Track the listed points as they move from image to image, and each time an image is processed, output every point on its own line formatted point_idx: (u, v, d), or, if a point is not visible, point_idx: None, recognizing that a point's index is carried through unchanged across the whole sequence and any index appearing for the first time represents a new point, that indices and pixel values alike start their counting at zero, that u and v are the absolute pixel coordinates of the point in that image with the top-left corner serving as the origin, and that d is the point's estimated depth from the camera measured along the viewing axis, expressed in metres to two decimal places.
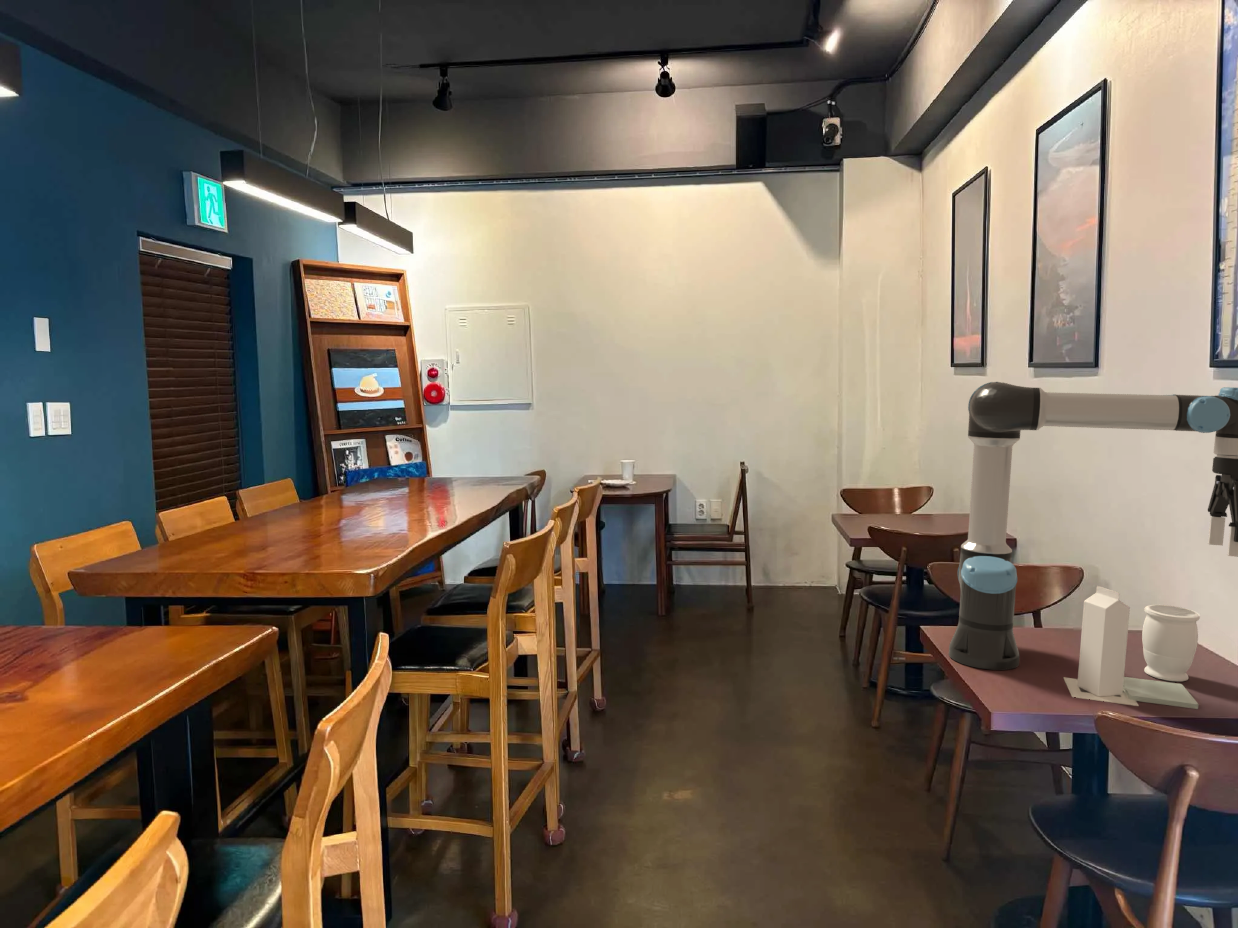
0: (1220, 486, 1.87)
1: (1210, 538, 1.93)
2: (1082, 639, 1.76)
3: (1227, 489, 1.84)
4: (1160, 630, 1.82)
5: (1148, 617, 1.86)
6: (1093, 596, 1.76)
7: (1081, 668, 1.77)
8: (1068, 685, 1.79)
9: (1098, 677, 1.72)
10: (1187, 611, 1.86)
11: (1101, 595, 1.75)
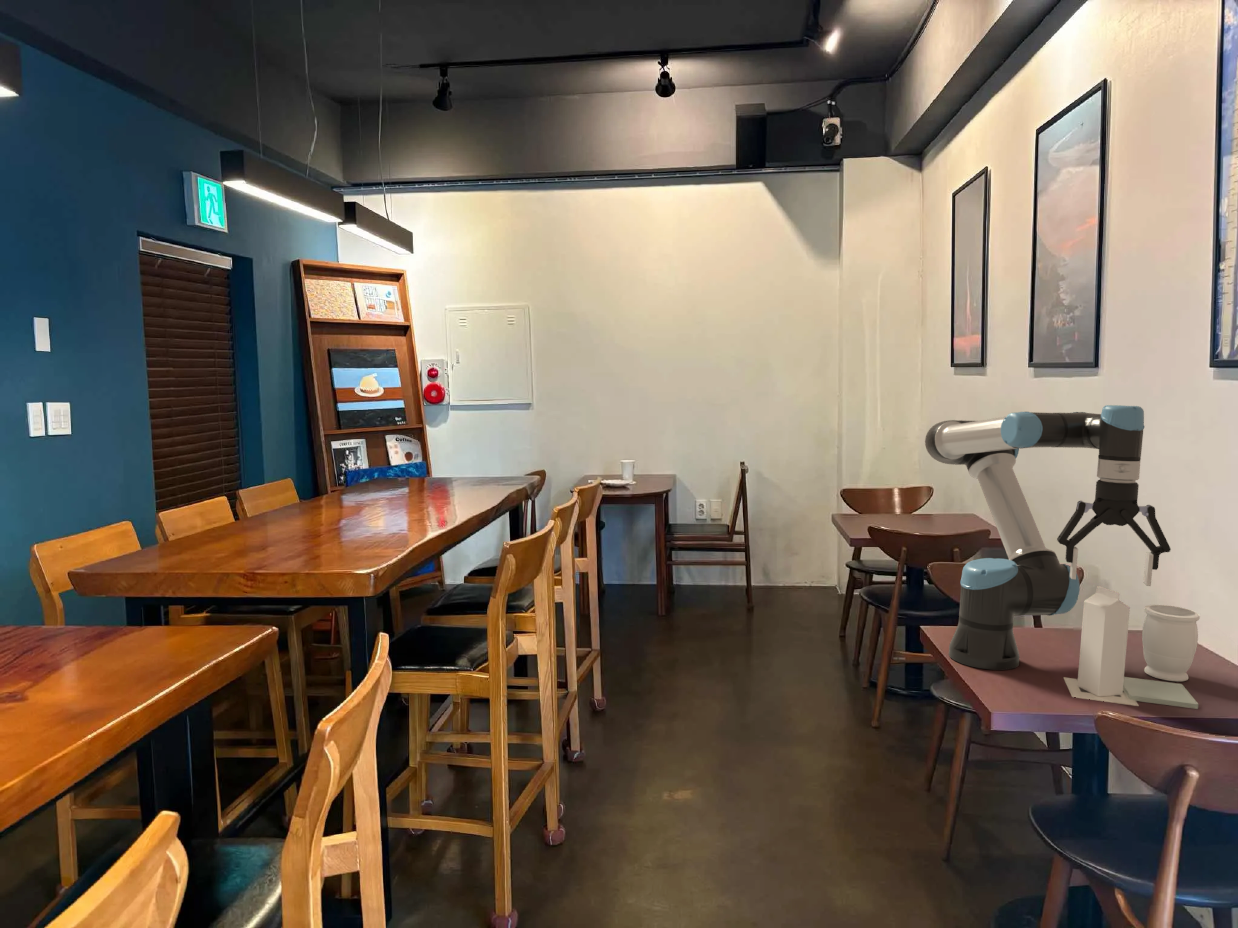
0: None
1: (1144, 576, 1.72)
2: (1082, 639, 1.76)
3: None
4: (1160, 630, 1.82)
5: (1148, 617, 1.86)
6: (1093, 596, 1.76)
7: (1081, 668, 1.77)
8: (1068, 685, 1.79)
9: (1098, 677, 1.72)
10: (1187, 611, 1.86)
11: (1101, 595, 1.75)
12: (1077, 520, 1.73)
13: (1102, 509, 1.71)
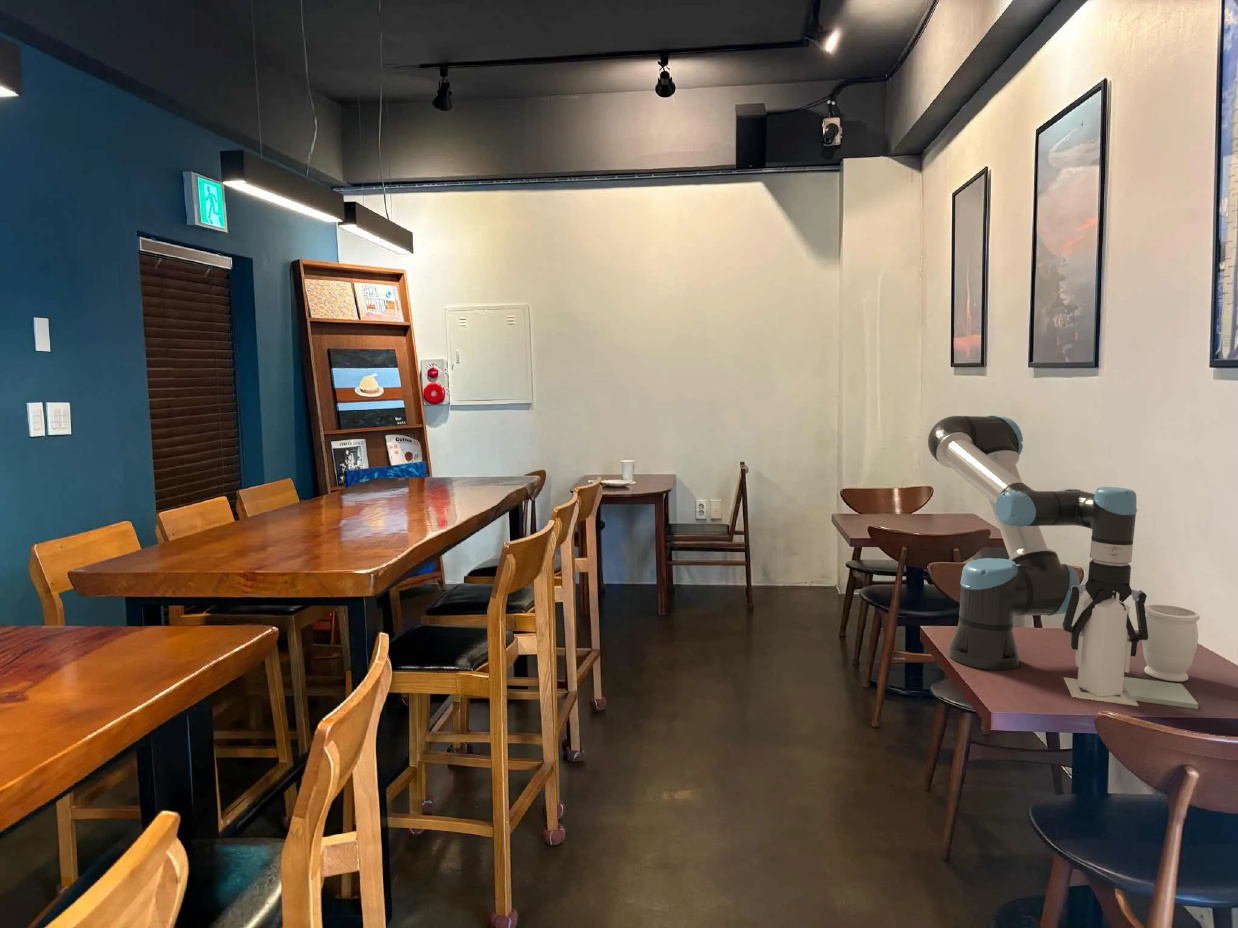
0: None
1: None
2: None
3: None
4: (1160, 630, 1.82)
5: (1148, 617, 1.86)
6: None
7: (1081, 668, 1.77)
8: (1068, 685, 1.79)
9: (1098, 677, 1.72)
10: (1187, 611, 1.86)
11: None
12: (1075, 605, 1.75)
13: (1095, 589, 1.73)
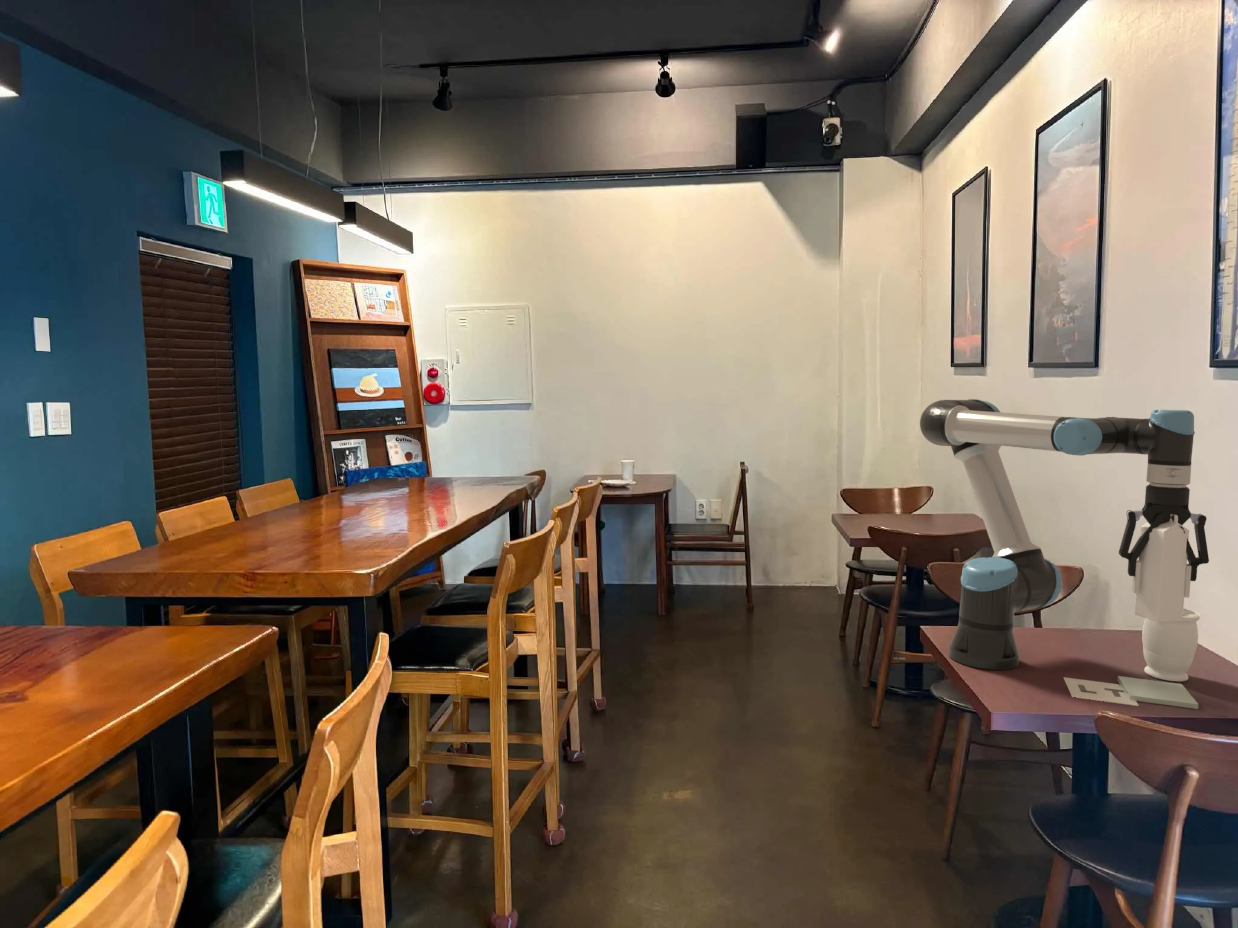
0: None
1: None
2: None
3: None
4: (1160, 630, 1.82)
5: None
6: None
7: (1139, 595, 1.74)
8: (1068, 685, 1.79)
9: (1157, 602, 1.69)
10: (1187, 611, 1.86)
11: None
12: (1132, 530, 1.72)
13: (1153, 513, 1.70)
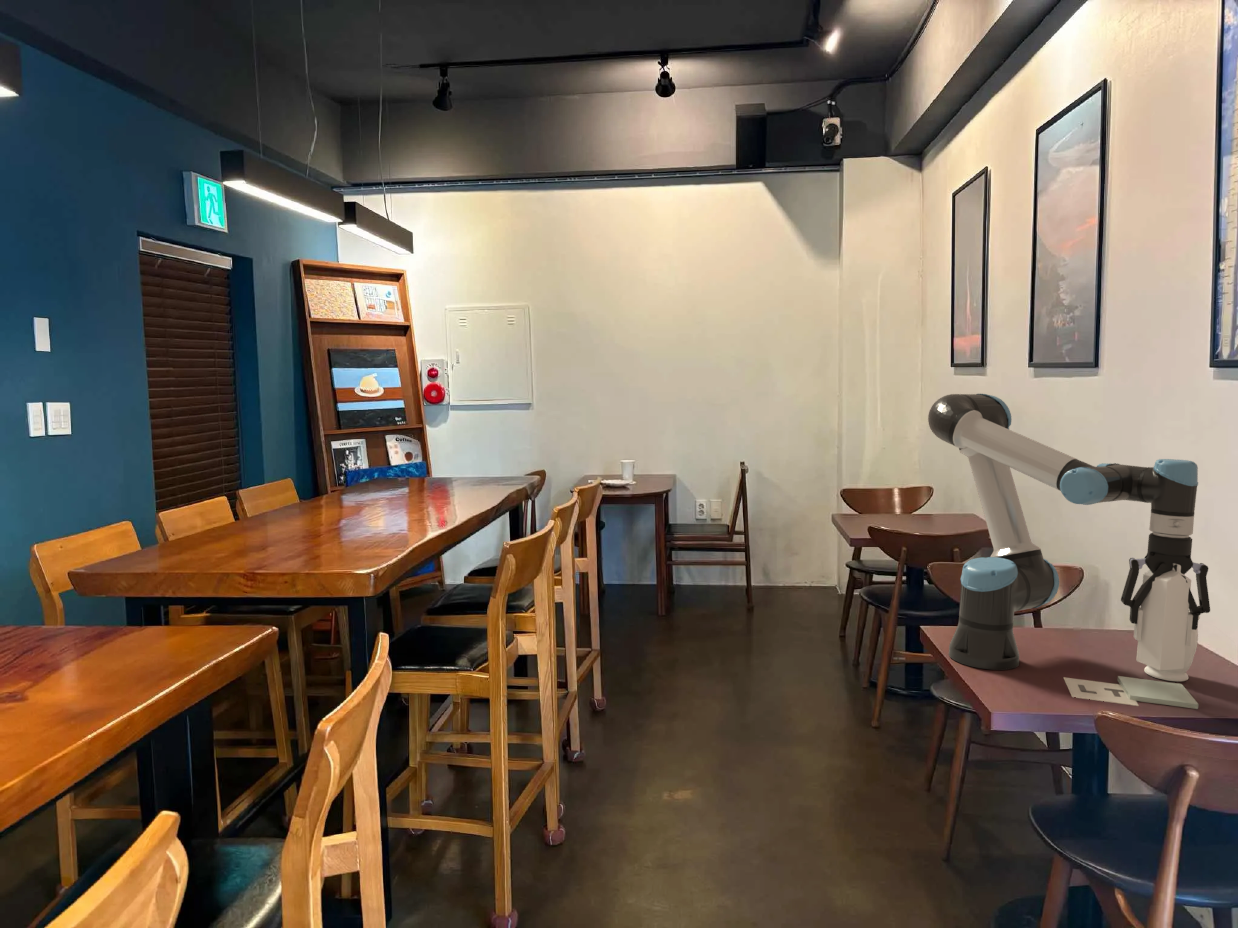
0: None
1: None
2: None
3: None
4: None
5: None
6: None
7: (1140, 642, 1.75)
8: (1068, 685, 1.79)
9: (1159, 651, 1.70)
10: None
11: None
12: (1135, 578, 1.73)
13: (1155, 562, 1.72)
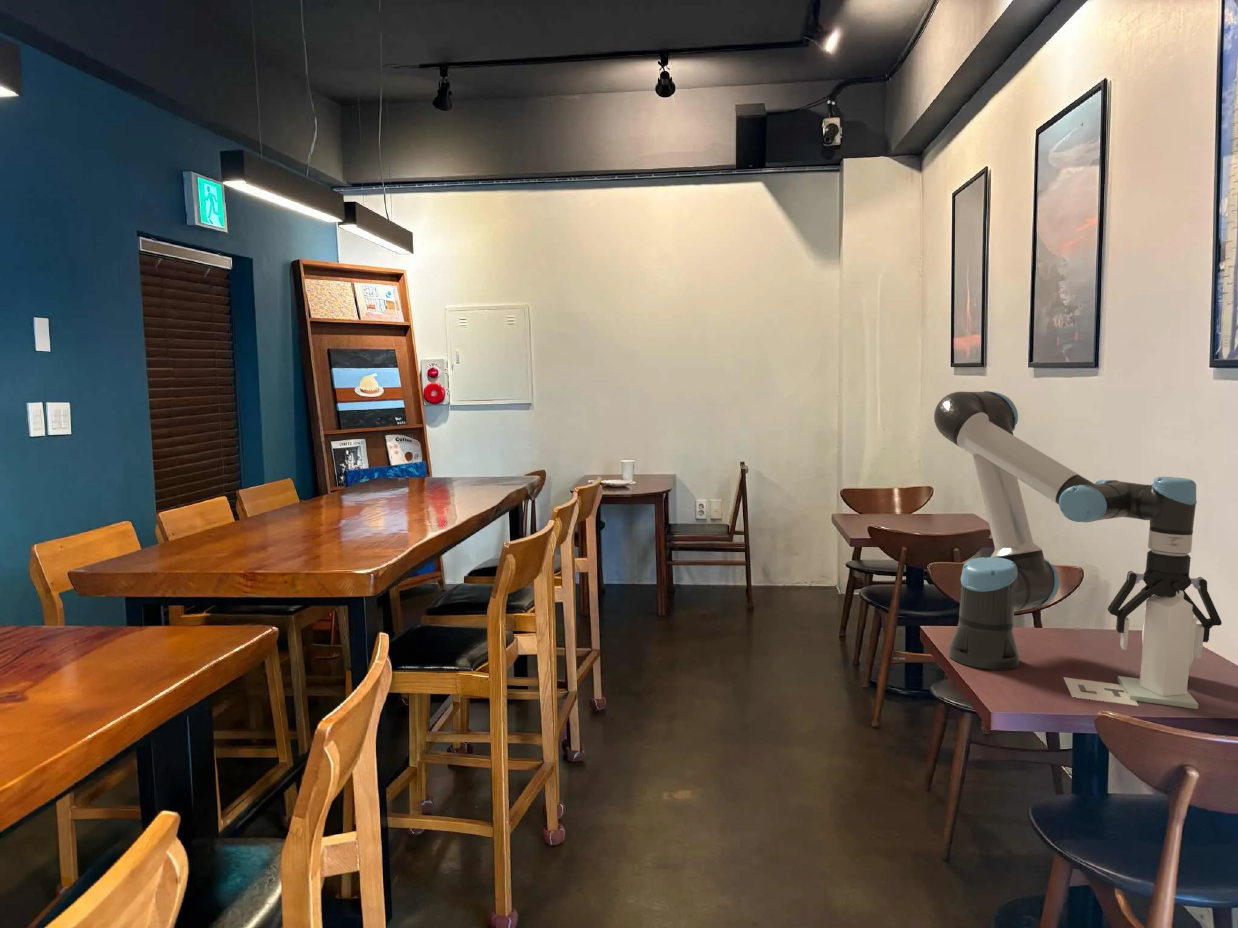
0: None
1: (1194, 647, 1.73)
2: (1145, 639, 1.75)
3: None
4: None
5: None
6: (1155, 595, 1.74)
7: (1144, 668, 1.75)
8: (1068, 685, 1.79)
9: (1162, 676, 1.71)
10: None
11: None
12: (1128, 591, 1.74)
13: (1153, 580, 1.72)
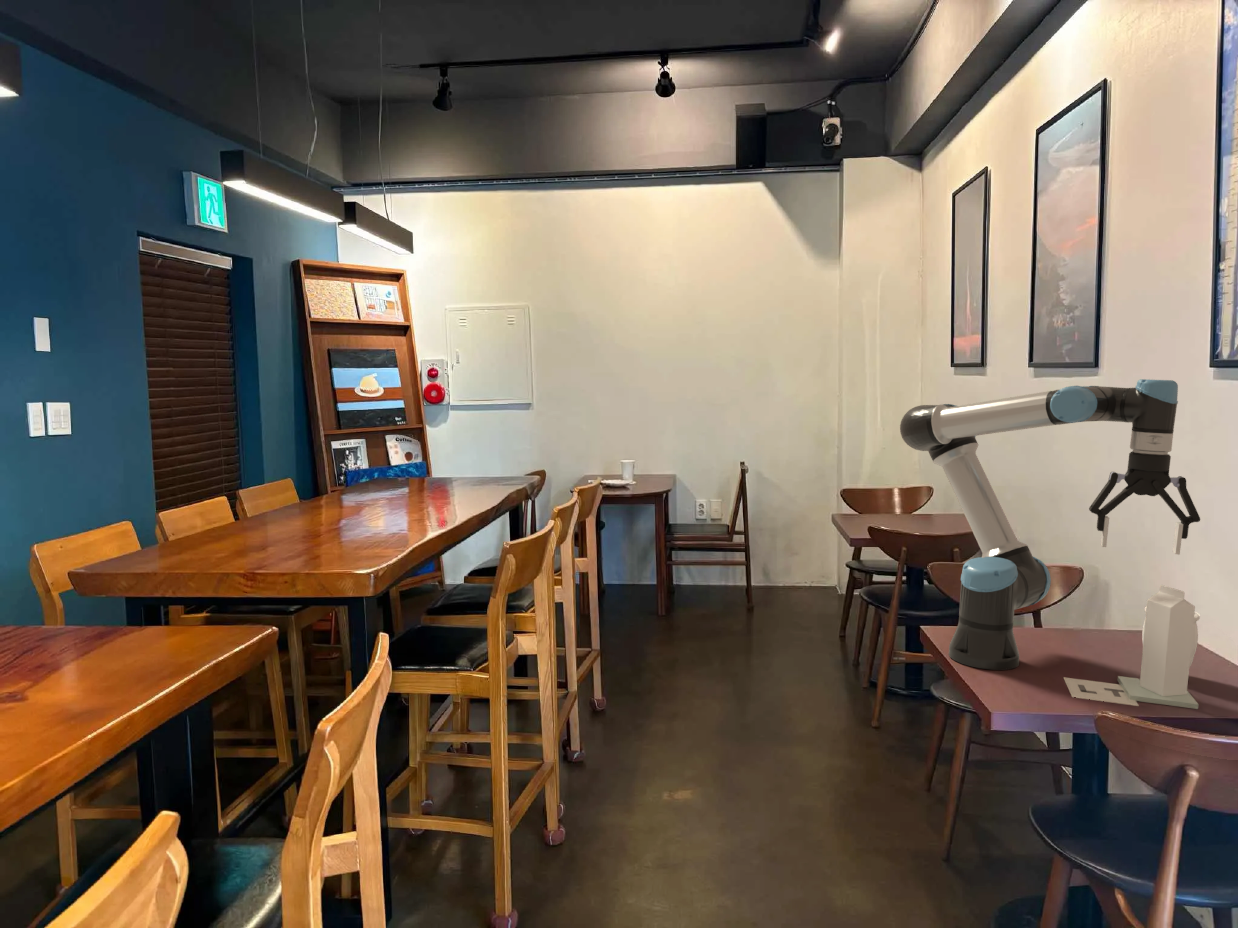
0: None
1: (1173, 545, 1.78)
2: (1145, 639, 1.75)
3: None
4: None
5: None
6: (1156, 595, 1.74)
7: (1144, 668, 1.75)
8: (1068, 685, 1.79)
9: (1163, 677, 1.71)
10: None
11: (1165, 594, 1.73)
12: (1109, 490, 1.79)
13: (1134, 480, 1.78)
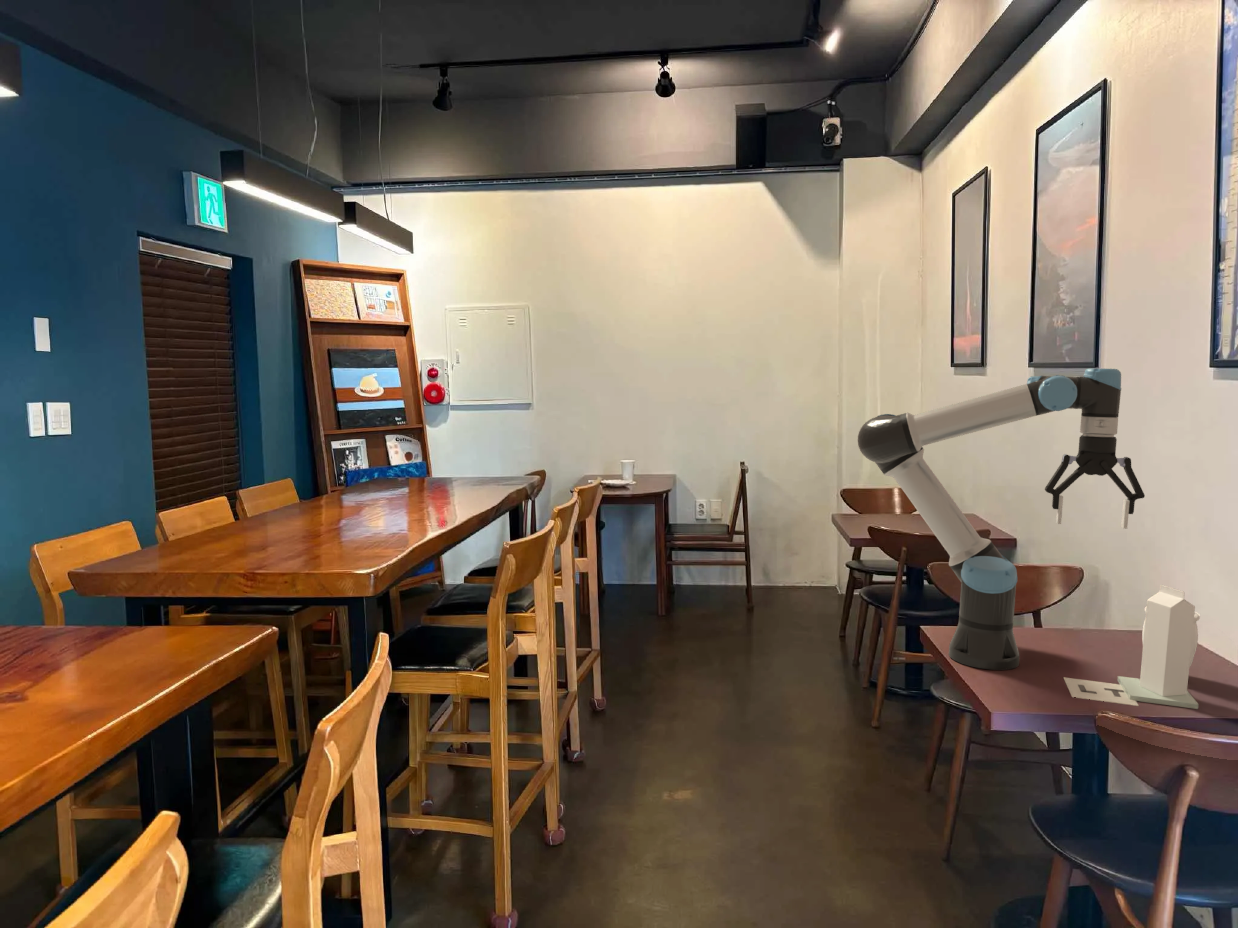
0: None
1: (1121, 520, 1.94)
2: (1145, 639, 1.75)
3: None
4: None
5: None
6: (1156, 595, 1.74)
7: (1144, 668, 1.75)
8: (1068, 685, 1.79)
9: (1163, 677, 1.71)
10: None
11: (1165, 594, 1.73)
12: (1062, 471, 1.95)
13: (1084, 461, 1.93)
